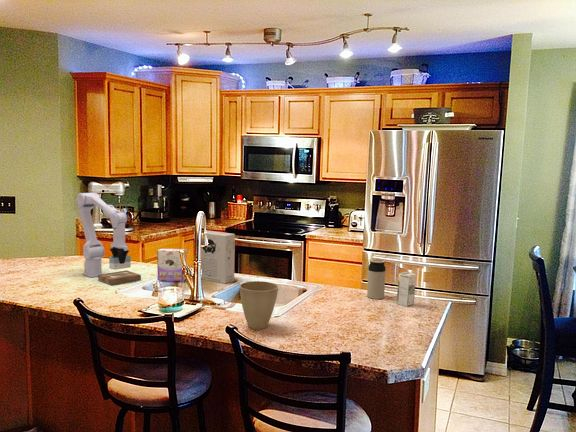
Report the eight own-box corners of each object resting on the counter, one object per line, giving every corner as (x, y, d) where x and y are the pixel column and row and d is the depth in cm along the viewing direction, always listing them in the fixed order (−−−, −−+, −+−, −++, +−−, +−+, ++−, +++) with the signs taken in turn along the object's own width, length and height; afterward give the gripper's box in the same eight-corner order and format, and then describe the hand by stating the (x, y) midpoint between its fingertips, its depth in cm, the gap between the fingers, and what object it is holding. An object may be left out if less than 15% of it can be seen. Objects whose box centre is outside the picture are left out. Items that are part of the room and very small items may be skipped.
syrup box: (403, 301, 236) (404, 271, 234) (414, 304, 232) (416, 273, 230) (396, 304, 232) (398, 272, 230) (407, 307, 228) (409, 275, 226)
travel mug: (387, 297, 243) (389, 260, 241) (378, 300, 237) (379, 262, 235) (373, 294, 248) (374, 257, 246) (363, 297, 242) (365, 259, 240)
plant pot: (246, 334, 187) (246, 292, 185) (233, 322, 200) (234, 282, 199) (283, 330, 193) (284, 288, 191) (269, 318, 206) (269, 279, 205)
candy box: (186, 279, 266) (186, 248, 265) (183, 282, 261) (183, 250, 259) (160, 278, 268) (160, 247, 266) (157, 281, 262) (156, 249, 260)
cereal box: (234, 281, 267) (235, 233, 264) (225, 283, 260) (225, 235, 258) (203, 275, 278) (203, 229, 275) (193, 277, 272) (193, 231, 269)
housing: (125, 265, 265) (125, 254, 265) (130, 267, 262) (130, 255, 261) (109, 268, 259) (109, 256, 258) (114, 269, 255) (114, 258, 255)
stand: (98, 280, 260) (98, 274, 259) (126, 275, 271) (126, 270, 271) (112, 285, 250) (111, 279, 250) (140, 280, 262) (140, 274, 262)
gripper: (104, 235, 260) (105, 261, 262) (119, 238, 250) (119, 265, 252) (117, 234, 265) (117, 259, 267) (132, 237, 256) (132, 264, 257)
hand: (119, 262), depth 260 cm, fingers closed on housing, 5 cm apart
